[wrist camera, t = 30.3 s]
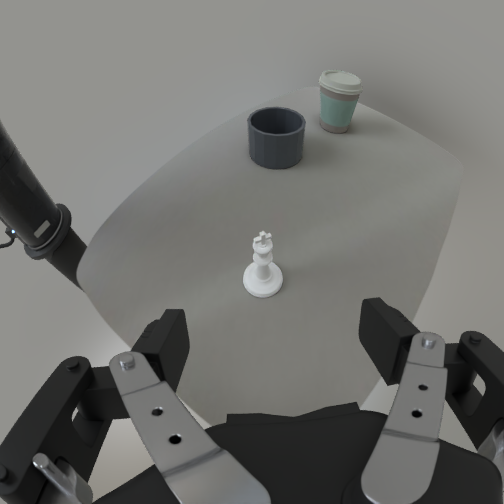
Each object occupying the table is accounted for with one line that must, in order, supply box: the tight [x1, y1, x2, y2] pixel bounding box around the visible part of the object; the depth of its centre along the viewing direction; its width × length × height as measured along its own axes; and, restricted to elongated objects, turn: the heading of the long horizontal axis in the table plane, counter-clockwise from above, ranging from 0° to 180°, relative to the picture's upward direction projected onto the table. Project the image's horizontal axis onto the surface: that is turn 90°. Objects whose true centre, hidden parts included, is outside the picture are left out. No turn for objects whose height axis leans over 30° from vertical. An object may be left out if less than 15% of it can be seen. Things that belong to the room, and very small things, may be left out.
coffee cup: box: [319, 70, 362, 133], centre depth 47 cm, size 8×8×12 cm
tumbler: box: [247, 107, 306, 169], centre depth 44 cm, size 9×9×7 cm
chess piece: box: [243, 231, 283, 298], centre depth 30 cm, size 5×5×10 cm
